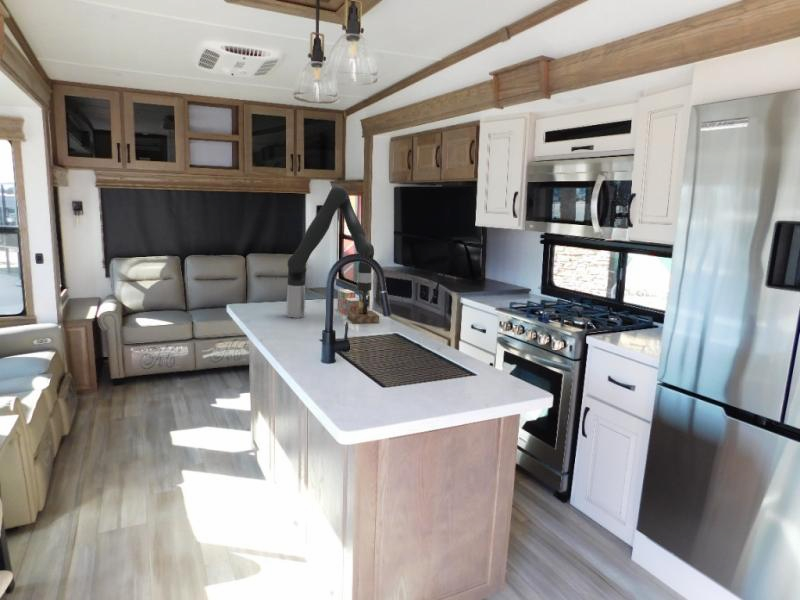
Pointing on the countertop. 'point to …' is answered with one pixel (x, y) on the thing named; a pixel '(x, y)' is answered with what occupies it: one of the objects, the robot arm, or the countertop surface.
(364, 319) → the walnut board
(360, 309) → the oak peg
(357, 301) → the stack of blocks
